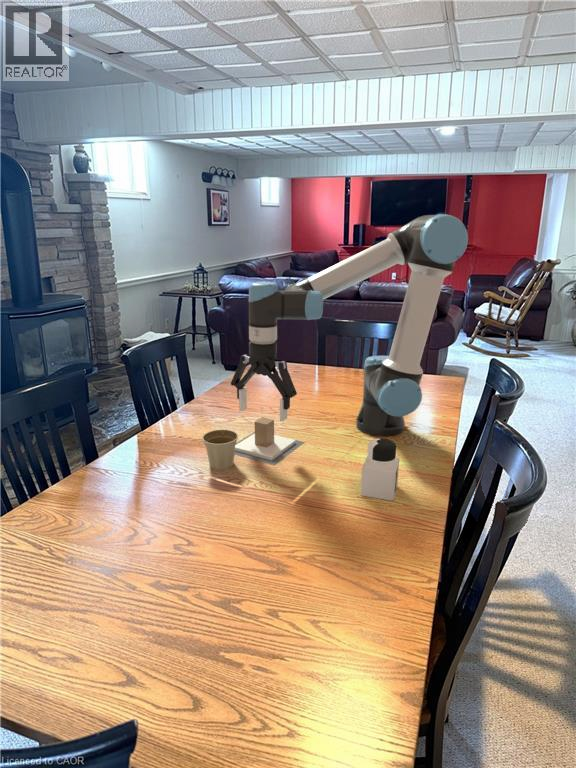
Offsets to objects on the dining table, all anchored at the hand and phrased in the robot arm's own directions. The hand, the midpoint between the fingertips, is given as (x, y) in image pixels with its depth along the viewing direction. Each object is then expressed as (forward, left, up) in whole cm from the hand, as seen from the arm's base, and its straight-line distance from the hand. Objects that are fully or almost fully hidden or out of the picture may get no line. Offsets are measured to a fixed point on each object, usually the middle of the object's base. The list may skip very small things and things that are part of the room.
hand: (262, 414), depth 140 cm
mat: (0, 0, -10) cm, 10 cm away
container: (-37, +6, -11) cm, 39 cm away
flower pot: (+4, +15, -11) cm, 19 cm away
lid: (0, 0, -10) cm, 10 cm away
